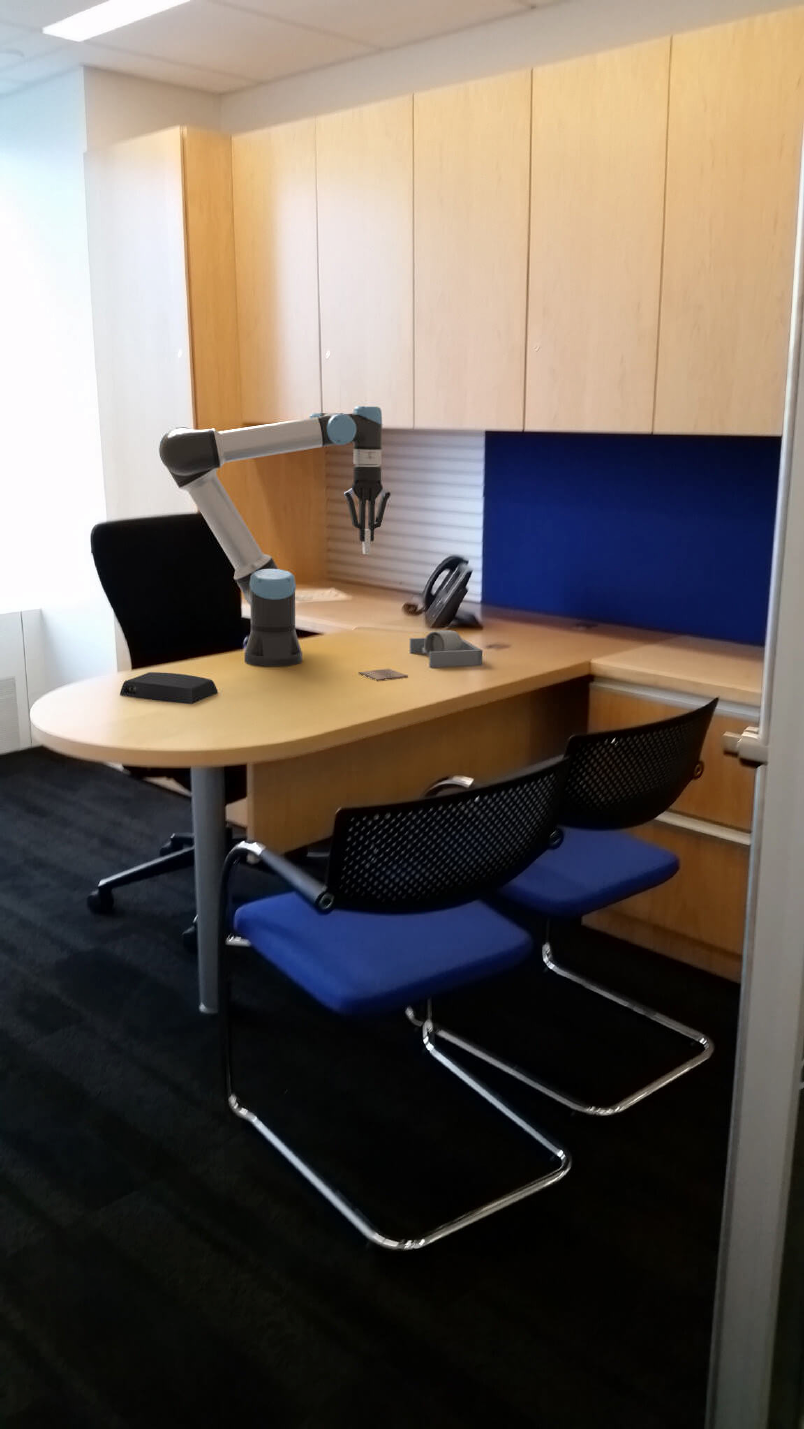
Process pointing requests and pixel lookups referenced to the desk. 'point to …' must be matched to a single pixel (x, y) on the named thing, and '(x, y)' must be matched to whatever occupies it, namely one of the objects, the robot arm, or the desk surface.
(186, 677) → the external hard drive
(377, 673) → the walnut coaster
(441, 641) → the ceramic mug
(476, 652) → the grey c-shaped bracket
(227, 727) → the desk surface
